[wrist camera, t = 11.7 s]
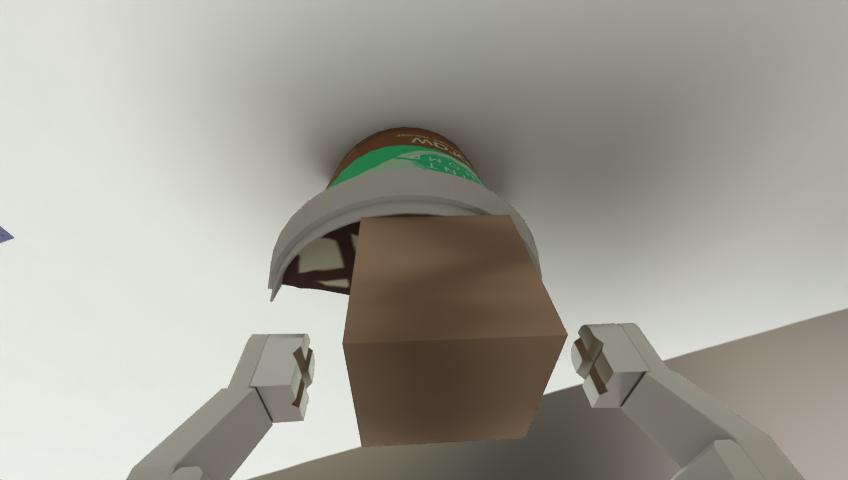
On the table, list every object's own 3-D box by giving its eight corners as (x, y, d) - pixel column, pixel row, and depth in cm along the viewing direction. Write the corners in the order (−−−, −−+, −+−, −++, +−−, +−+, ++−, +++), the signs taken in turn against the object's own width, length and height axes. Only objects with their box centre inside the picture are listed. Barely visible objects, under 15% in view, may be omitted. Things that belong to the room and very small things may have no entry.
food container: (532, 139, 21) (617, 240, 13) (490, 222, 24) (537, 342, 16) (321, 75, 18) (261, 153, 10) (308, 179, 21) (255, 299, 13)
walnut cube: (510, 214, 12) (568, 335, 8) (489, 314, 15) (524, 437, 11) (361, 216, 12) (342, 343, 8) (371, 318, 14) (361, 447, 10)
